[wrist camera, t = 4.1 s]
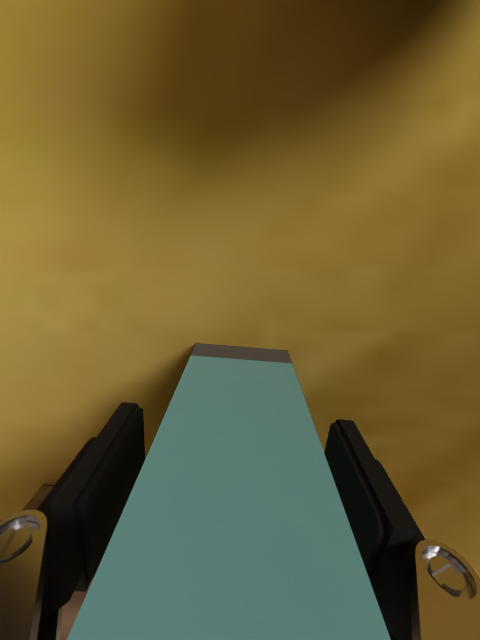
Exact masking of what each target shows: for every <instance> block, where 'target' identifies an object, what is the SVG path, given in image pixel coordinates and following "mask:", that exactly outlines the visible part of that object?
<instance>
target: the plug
mask: <svg viewBox="0 0 480 640" xmlns="http://www.w3.org/2000/svg"><path fill="white" fill-rule="evenodd" d="M67 640H391V639H390V636H389V633H388V630H387V628H386V625H385V622H384V619H383V616H382V614H381V611H380V608H379V605H378V602H377V600H376V597H375V594H374V591H373V588H372V586H371V583H370V580H369V577H368V574H367V572H366V569H365V566H364V563H363V560H362V558H361V555H360V552H359V549H358V546H357V544H356V541H355V538H354V535H353V532H352V530H351V527H350V524H349V521H348V518H347V516H346V513H345V510H344V507H343V504H342V502H341V499H340V496H339V493H338V490H337V488H336V485H335V482H334V479H333V476H332V474H331V471H330V468H329V465H328V462H327V460H326V457H325V454H324V451H323V448H322V446H321V443H320V440H319V437H318V434H317V432H316V429H315V426H314V423H313V420H312V418H311V415H310V412H309V409H308V406H307V404H306V401H305V398H304V395H303V392H302V390H301V387H300V384H299V381H298V378H297V376H296V373H295V370H294V367H293V364H292V362H291V359H290V356H289V353H288V351H286V350H274V349H262V348H249V347H237V346H225V345H212V344H200V343H196V344H195V347H194V349H193V351H192V353H191V356H190V358H189V360H188V363H187V365H186V367H185V370H184V372H183V374H182V376H181V379H180V381H179V383H178V386H177V388H176V390H175V392H174V395H173V397H172V399H171V402H170V404H169V406H168V409H167V411H166V413H165V415H164V418H163V420H162V422H161V425H160V427H159V429H158V432H157V434H156V436H155V438H154V441H153V443H152V445H151V448H150V450H149V452H148V455H147V457H146V459H145V461H144V464H143V466H142V468H141V471H140V473H139V475H138V478H137V480H136V482H135V484H134V487H133V489H132V491H131V494H130V496H129V498H128V500H127V503H126V505H125V507H124V510H123V512H122V514H121V517H120V519H119V521H118V523H117V526H116V528H115V530H114V533H113V535H112V537H111V540H110V542H109V544H108V546H107V549H106V551H105V553H104V556H103V558H102V560H101V563H100V565H99V567H98V569H97V572H96V574H95V576H94V579H93V581H92V583H91V586H90V588H89V590H88V592H87V595H86V597H85V599H84V602H83V604H82V606H81V608H80V611H79V613H78V615H77V618H76V620H75V622H74V625H73V627H72V629H71V631H70V634H69V636H68V638H67Z"/></svg>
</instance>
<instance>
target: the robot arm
mask: <svg viewBox="0 0 480 640" xmlns="http://www.w3.org/2000/svg"><path fill="white" fill-rule="evenodd" d="M324 454H325V457H326V460H327V462H328V465H329V468H330V471H331V474H332V476H333V479H334V482H335V485H336V488H337V490H338V493H339V496H340V499H341V502H342V504H343V507H344V510H345V513H346V516H347V518H348V521H349V524H350V527H351V530H352V532H353V535H354V538H355V541H356V544H357V546H358V549H359V552H360V555H361V558H362V560H363V563H364V566H365V569H366V572H367V574H368V577H369V580H370V583H371V586H372V588H373V591H374V594H375V597H376V600H377V602H378V605H379V608H380V611H381V614H382V616H383V619H384V622H385V625H386V628H387V630H388V633H389V636H390V639H391V640H480V578H479V577H478V575H477V574H476V572H475V571H474V569H473V568H472V567H471V565H470V564H469V563H468V562H467V561H466V560H465V559H464V558H463V557H462V556H461V555H459V554H458V553H457V552H456V551H455V550H453V549H452V548H450V547H448V546H447V545H445V544H443V543H440V542H438V541H435V540H427V539H426V540H425V538H424V537H423V535H422V533H421V531H420V530H419V528H418V526H417V525H416V523H415V521H414V519H413V518H412V516H411V514H410V513H409V511H408V509H407V507H406V506H405V504H404V502H403V501H402V499H401V497H400V495H399V494H398V492H397V490H396V489H395V487H394V485H393V483H392V482H391V480H390V478H389V477H388V475H387V473H386V471H385V470H384V468H383V466H382V465H381V463H380V462H379V461H378V460H376V459H375V458H374V457H373V455H372V453H371V451H370V450H369V448H368V446H367V444H366V443H365V441H364V439H363V437H362V436H361V434H360V432H359V430H358V429H357V427H356V425H355V423H354V422H353V421H351V420H336V422H335V423H332V424H331V426H330V430H329V434H328V439H327V443H326V447H325V452H324ZM144 461H145V445H144V422H143V409H142V408H139V406H138V404H136V403H124V402H123V403H121V404H120V406H119V407H118V408H117V410H116V411H115V412H114V414H113V415H112V417H111V418H110V419H109V421H108V422H107V424H106V425H105V426H104V428H103V429H102V431H101V432H100V433H99V435H98V436H97V438H96V437H93V438H91V439H89V441H88V442H87V443H86V444H85V445H84V447H83V448H82V449H81V451H80V452H79V453H78V455H77V456H76V457H75V459H74V460H73V461H72V463H71V464H70V466H69V467H68V468H67V470H66V471H65V472H64V474H63V475H62V476H61V478H60V479H59V480H58V482H57V483H56V484H55V486H54V487H53V488H52V490H51V491H50V492H49V494H48V495H47V496H46V498H45V499H44V500H43V502H42V503H41V504H40V506H39V507H38V508H37V510H25V511H20V512H17V513H15V514H12V515H10V516H8V517H6V518H4V519H3V520H1V521H0V640H60V634H61V622H62V610H63V606H64V605H65V604H66V603H68V602H69V601H70V599H71V597H72V595H73V593H74V591H79V592H86V591H87V589H88V587H89V585H90V582H91V580H92V578H94V576H95V574H96V572H97V569H98V567H99V565H100V563H101V560H102V558H103V556H104V553H105V551H106V549H107V546H108V544H109V542H110V540H111V537H112V535H113V533H114V530H115V528H116V526H117V523H118V521H119V519H120V517H121V514H122V512H123V510H124V507H125V505H126V503H127V500H128V498H129V496H130V494H131V491H132V489H133V487H134V484H135V482H136V480H137V478H138V475H139V473H140V471H141V468H142V466H143V464H144Z"/></svg>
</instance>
